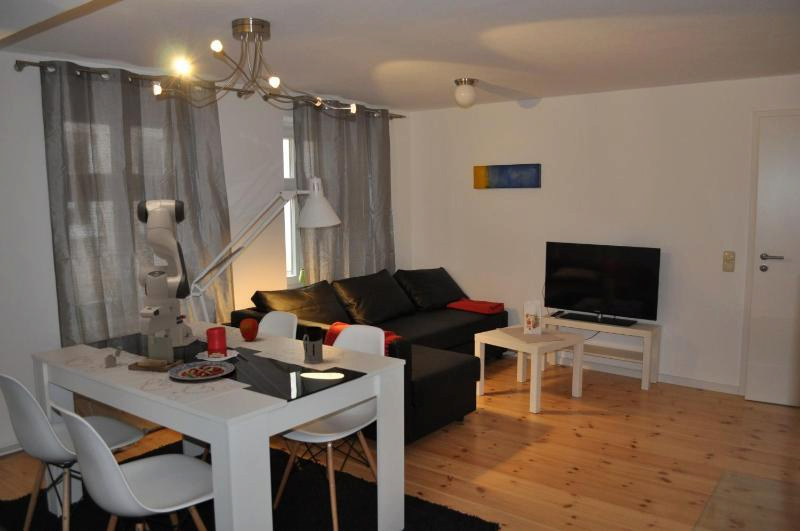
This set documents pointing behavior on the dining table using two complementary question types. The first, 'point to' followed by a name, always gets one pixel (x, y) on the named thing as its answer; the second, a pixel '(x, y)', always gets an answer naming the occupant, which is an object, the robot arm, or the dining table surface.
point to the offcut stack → (152, 362)
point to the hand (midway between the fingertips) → (160, 341)
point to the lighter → (112, 358)
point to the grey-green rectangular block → (161, 349)
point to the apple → (249, 329)
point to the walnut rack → (154, 368)
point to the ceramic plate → (201, 370)
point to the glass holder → (313, 345)
